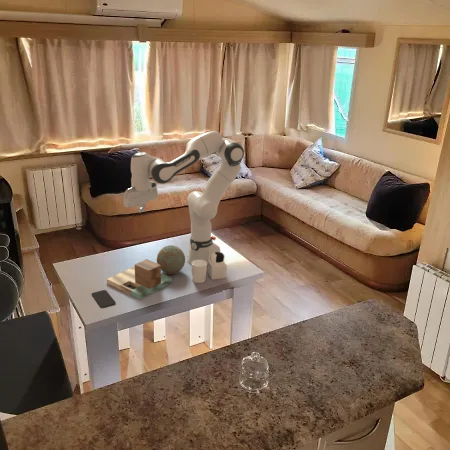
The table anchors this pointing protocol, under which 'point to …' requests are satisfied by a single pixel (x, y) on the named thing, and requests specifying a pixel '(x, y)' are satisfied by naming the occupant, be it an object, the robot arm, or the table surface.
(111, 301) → the phone
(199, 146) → the robot arm
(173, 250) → the decorative sphere
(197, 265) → the white cup
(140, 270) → the walnut block
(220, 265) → the container
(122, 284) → the board
